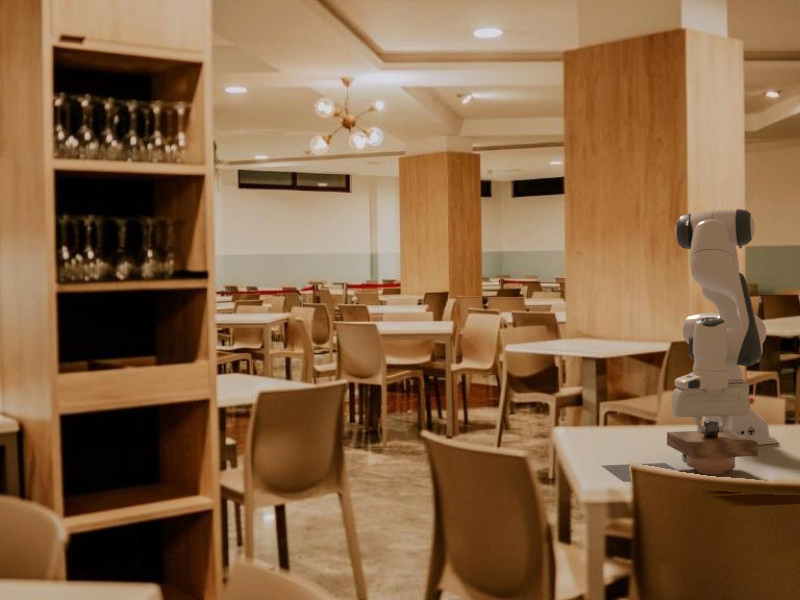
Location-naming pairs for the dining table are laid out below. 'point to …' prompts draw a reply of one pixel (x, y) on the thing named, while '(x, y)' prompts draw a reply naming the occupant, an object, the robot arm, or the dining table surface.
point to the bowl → (712, 464)
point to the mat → (624, 473)
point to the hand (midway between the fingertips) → (710, 432)
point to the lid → (712, 443)
